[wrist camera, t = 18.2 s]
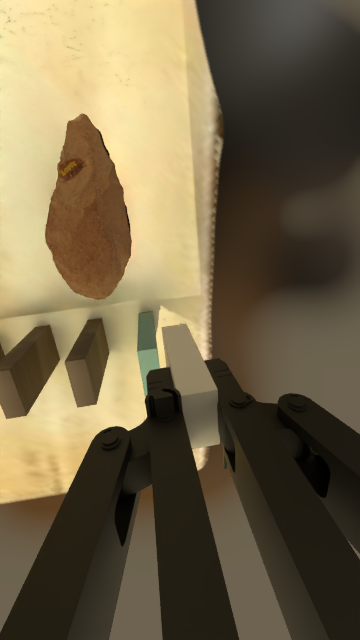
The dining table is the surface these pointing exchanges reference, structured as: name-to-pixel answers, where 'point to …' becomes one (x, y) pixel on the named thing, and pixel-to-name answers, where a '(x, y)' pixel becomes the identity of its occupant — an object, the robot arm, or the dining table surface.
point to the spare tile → (147, 346)
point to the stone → (88, 215)
